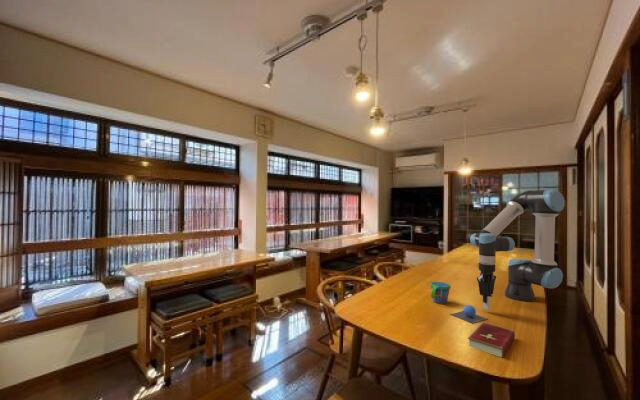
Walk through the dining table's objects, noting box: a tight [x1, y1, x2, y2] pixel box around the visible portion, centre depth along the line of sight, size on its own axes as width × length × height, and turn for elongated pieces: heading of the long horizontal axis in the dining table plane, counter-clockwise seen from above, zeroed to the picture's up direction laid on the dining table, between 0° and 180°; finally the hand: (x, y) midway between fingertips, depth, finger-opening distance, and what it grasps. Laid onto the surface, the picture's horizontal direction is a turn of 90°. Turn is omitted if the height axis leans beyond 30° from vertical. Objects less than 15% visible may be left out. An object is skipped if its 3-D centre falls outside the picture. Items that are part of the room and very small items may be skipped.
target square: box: [449, 310, 489, 325], centre depth 142 cm, size 12×12×1 cm
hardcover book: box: [467, 321, 516, 359], centre depth 116 cm, size 12×21×4 cm, turn 136°
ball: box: [463, 304, 477, 317], centre depth 142 cm, size 6×6×6 cm
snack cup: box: [429, 281, 451, 305], centre depth 163 cm, size 16×10×10 cm
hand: (486, 308), depth 148 cm, fingers closed
